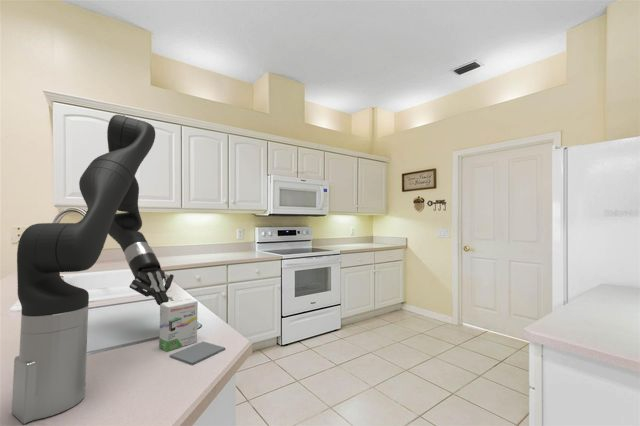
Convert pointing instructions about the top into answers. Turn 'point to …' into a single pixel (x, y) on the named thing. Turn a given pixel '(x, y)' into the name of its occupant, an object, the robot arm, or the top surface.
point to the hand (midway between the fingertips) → (164, 304)
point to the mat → (197, 352)
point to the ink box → (178, 323)
